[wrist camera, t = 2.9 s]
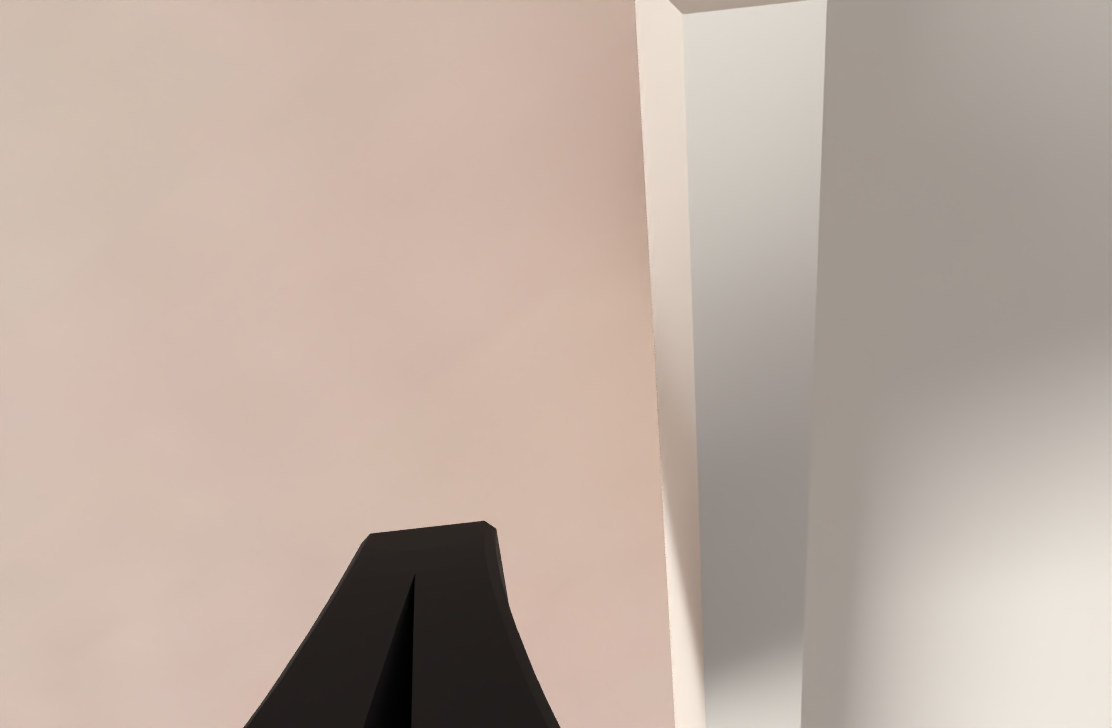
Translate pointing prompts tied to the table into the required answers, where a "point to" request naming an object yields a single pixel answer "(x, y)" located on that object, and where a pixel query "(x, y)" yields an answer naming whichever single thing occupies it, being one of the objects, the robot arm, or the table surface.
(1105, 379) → the lid
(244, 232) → the table surface
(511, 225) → the table surface
